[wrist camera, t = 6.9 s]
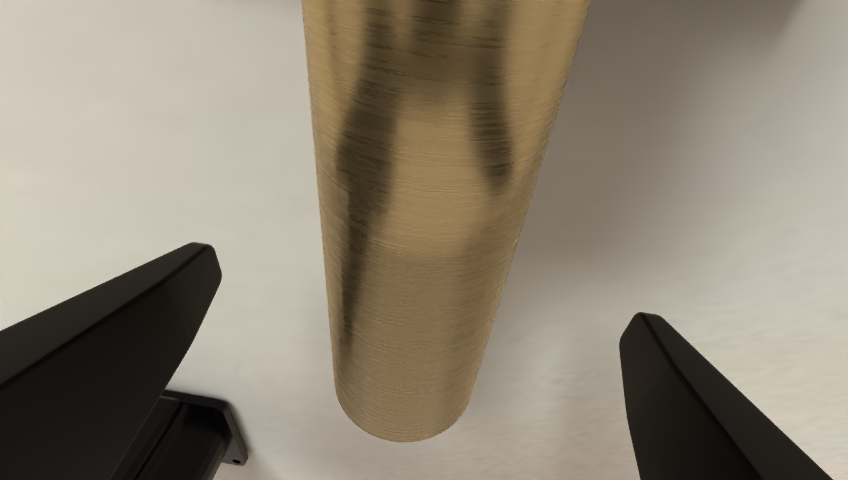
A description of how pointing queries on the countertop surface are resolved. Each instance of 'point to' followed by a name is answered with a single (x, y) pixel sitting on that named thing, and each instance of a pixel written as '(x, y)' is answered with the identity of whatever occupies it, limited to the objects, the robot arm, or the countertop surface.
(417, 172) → the tube
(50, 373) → the robot arm
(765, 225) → the countertop surface
